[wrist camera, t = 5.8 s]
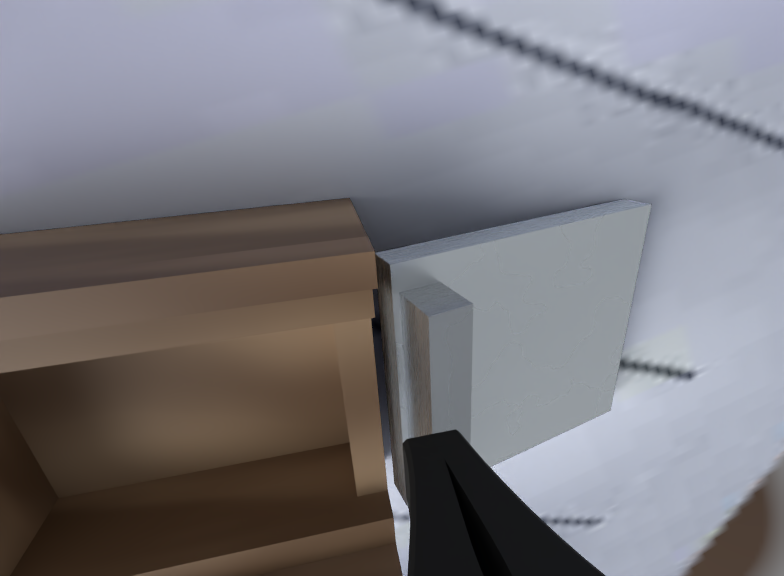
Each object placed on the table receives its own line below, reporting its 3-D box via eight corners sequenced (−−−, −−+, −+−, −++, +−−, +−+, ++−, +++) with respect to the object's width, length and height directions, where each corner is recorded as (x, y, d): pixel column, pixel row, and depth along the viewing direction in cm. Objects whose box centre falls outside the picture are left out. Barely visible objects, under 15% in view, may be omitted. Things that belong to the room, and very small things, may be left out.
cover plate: (590, 396, 18) (643, 434, 16) (394, 483, 15) (429, 545, 12) (624, 198, 14) (699, 213, 12) (374, 253, 11) (419, 286, 9)
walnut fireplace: (377, 463, 17) (403, 591, 13) (59, 527, 15) (-43, 702, 11) (349, 197, 12) (374, 250, 8) (-111, 246, 11) (-410, 348, 6)
